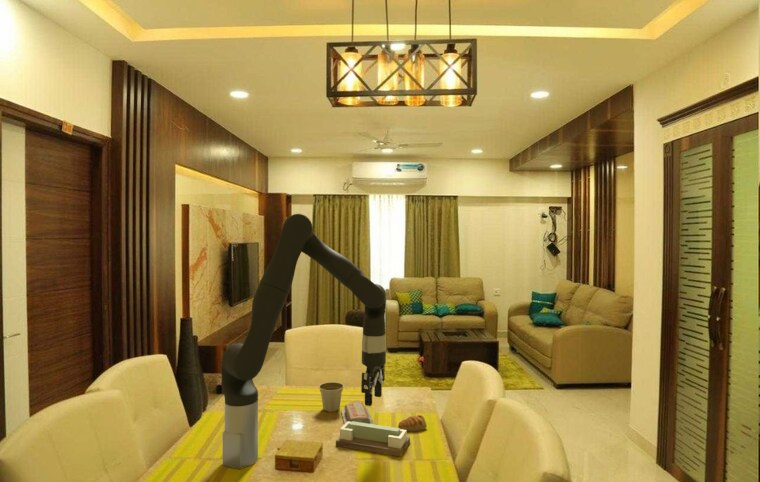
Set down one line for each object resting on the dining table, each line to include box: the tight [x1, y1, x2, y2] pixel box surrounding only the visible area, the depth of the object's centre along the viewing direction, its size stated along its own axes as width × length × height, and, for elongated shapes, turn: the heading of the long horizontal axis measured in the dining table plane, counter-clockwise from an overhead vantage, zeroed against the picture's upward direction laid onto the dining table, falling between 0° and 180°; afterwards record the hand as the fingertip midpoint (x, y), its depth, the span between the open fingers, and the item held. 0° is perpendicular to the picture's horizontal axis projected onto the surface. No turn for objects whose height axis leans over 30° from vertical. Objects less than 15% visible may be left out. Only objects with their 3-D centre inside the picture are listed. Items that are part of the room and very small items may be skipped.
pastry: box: [397, 414, 427, 432], centre depth 156 cm, size 9×7×4 cm
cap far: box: [339, 421, 353, 440], centre depth 146 cm, size 6×4×3 cm, turn 160°
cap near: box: [388, 429, 408, 449], centre depth 140 cm, size 6×4×3 cm, turn 160°
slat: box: [349, 421, 400, 443], centre depth 143 cm, size 2×16×4 cm, turn 70°
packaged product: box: [340, 400, 376, 425], centre depth 161 cm, size 18×5×10 cm
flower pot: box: [318, 381, 345, 413], centre depth 172 cm, size 9×9×9 cm
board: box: [335, 436, 411, 457], centre depth 143 cm, size 10×21×2 cm, turn 70°
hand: (373, 400), depth 143 cm, fingers open, 8 cm apart
